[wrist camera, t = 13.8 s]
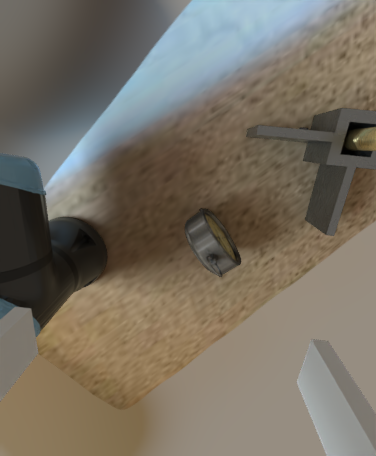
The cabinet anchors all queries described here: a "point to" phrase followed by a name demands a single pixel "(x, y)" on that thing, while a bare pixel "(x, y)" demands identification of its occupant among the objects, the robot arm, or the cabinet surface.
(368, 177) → the cabinet surface
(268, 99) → the cabinet surface
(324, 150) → the hinge leaves
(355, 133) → the hinge pin
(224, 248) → the alarm clock
